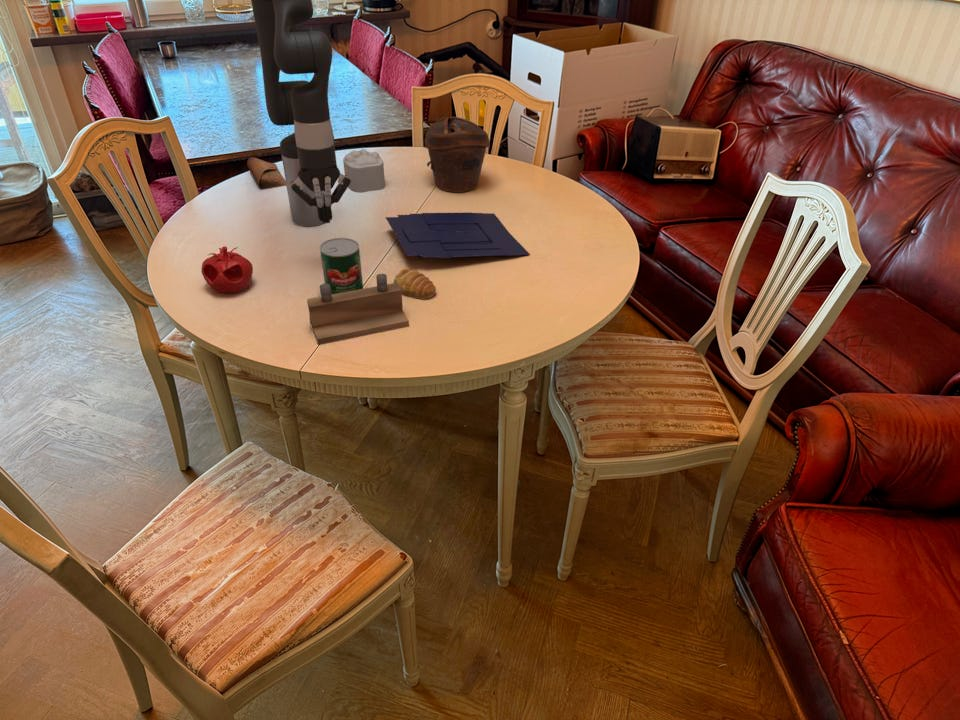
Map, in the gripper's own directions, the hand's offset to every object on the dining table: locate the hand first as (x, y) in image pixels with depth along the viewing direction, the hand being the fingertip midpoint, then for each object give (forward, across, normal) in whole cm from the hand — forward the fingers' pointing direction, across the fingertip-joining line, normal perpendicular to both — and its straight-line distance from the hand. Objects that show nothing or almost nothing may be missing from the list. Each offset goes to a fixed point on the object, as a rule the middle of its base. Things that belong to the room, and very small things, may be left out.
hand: (325, 221), depth 136 cm
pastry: (+11, -14, +17) cm, 25 cm away
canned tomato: (+11, 0, +14) cm, 17 cm away
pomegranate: (+11, +22, +2) cm, 25 cm away
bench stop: (+11, 0, +26) cm, 28 cm away
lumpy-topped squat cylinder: (+10, -19, -44) cm, 48 cm away
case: (+10, -44, -34) cm, 57 cm away
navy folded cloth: (+11, -31, -1) cm, 33 cm away
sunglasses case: (+10, +6, -57) cm, 58 cm away
